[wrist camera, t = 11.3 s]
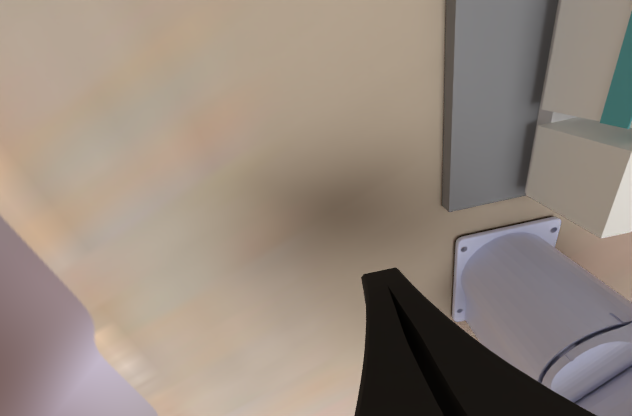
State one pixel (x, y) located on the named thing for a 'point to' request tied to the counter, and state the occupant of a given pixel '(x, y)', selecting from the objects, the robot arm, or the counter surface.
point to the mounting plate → (524, 122)
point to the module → (592, 62)
